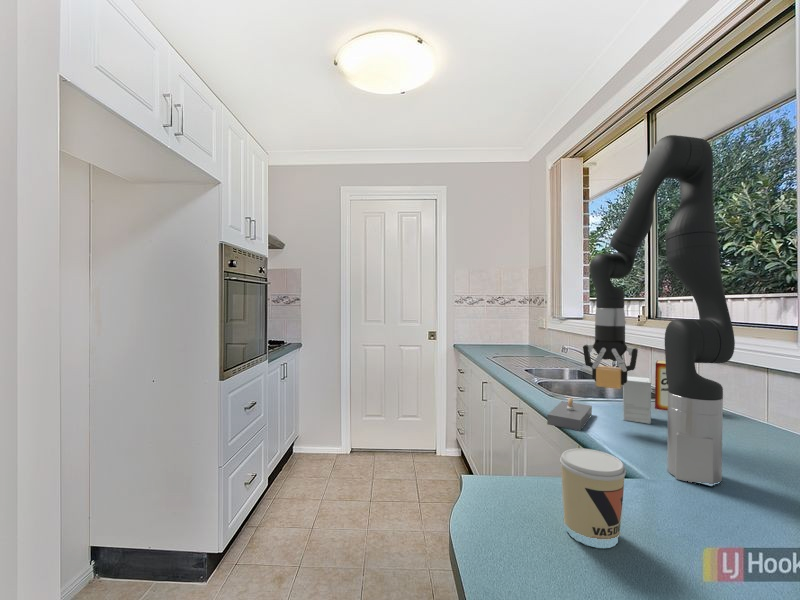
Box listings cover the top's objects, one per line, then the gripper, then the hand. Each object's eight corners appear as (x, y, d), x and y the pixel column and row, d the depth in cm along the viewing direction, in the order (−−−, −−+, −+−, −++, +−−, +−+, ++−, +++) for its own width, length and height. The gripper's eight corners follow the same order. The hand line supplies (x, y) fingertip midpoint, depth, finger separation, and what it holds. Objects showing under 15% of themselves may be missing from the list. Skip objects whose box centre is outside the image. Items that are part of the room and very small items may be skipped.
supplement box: (650, 418, 120) (651, 377, 120) (651, 424, 114) (651, 382, 114) (623, 414, 124) (623, 375, 124) (622, 420, 118) (622, 379, 118)
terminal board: (580, 430, 108) (580, 407, 108) (547, 424, 113) (547, 402, 113) (591, 414, 123) (591, 394, 123) (562, 409, 128) (562, 390, 128)
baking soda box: (655, 408, 130) (655, 361, 130) (656, 404, 135) (657, 359, 135) (689, 414, 124) (690, 365, 124) (690, 409, 129) (691, 362, 129)
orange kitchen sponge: (620, 389, 105) (620, 370, 105) (595, 386, 108) (596, 368, 108) (622, 385, 110) (622, 367, 110) (599, 382, 113) (599, 365, 113)
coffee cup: (595, 560, 55) (596, 477, 55) (546, 524, 64) (547, 452, 63) (638, 543, 59) (639, 465, 59) (587, 512, 67) (588, 444, 67)
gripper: (579, 323, 110) (579, 382, 110) (638, 325, 102) (638, 389, 102) (584, 322, 116) (584, 377, 116) (640, 324, 108) (640, 384, 108)
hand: (609, 382), depth 109 cm, fingers closed on orange kitchen sponge, 6 cm apart
